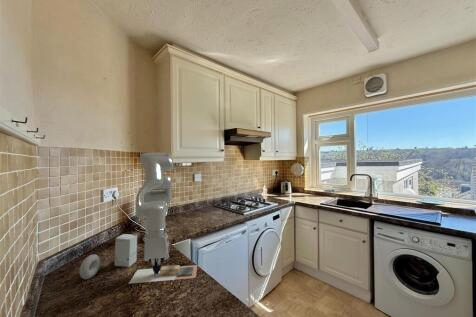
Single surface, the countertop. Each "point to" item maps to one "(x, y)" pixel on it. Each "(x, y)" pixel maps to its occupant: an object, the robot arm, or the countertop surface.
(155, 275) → the board
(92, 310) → the countertop surface
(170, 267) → the turner
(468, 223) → the countertop surface
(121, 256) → the skincare box
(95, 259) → the donut
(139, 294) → the countertop surface
